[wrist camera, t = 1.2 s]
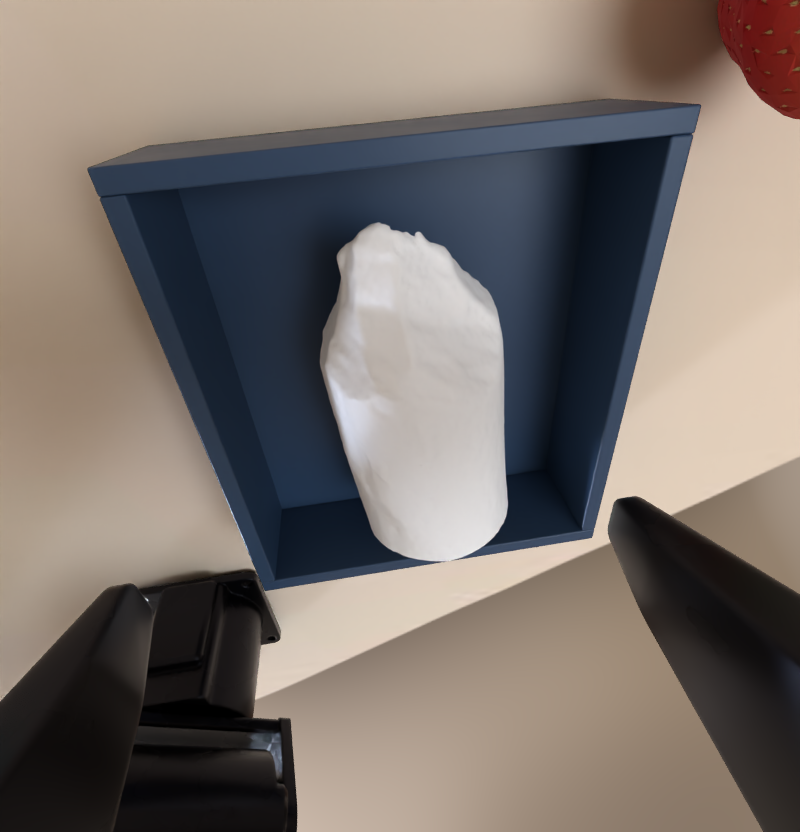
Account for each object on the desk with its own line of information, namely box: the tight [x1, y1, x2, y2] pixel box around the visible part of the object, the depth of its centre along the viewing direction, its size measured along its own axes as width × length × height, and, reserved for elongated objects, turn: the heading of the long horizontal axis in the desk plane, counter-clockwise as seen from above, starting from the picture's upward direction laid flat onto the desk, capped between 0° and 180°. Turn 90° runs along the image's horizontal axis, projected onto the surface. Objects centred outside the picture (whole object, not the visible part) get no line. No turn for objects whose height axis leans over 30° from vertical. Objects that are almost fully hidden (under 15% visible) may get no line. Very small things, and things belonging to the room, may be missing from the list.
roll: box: [320, 222, 508, 561], centre depth 16 cm, size 6×12×6 cm, turn 10°
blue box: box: [88, 99, 701, 591], centre depth 17 cm, size 16×14×4 cm
